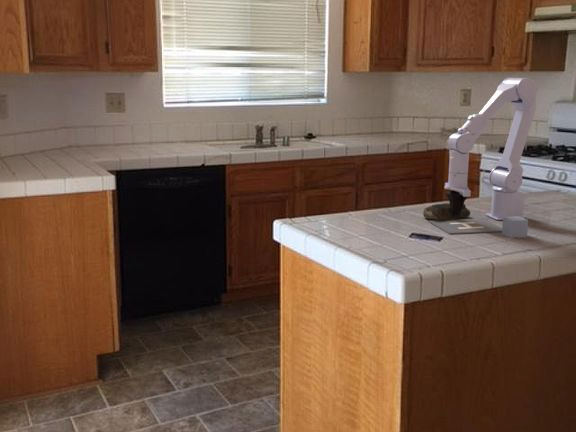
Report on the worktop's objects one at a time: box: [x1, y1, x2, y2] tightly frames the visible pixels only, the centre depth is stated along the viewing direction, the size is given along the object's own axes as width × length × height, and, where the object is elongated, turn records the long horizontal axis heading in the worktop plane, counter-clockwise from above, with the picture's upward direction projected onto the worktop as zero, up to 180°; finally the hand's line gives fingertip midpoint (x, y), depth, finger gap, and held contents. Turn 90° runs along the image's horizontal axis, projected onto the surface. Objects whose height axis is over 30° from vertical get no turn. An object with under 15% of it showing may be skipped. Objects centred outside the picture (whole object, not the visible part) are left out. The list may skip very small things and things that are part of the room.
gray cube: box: [501, 216, 529, 239], centre depth 183 cm, size 5×5×5 cm
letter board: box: [427, 218, 502, 235], centre depth 194 cm, size 18×16×1 cm
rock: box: [423, 202, 471, 221], centre depth 205 cm, size 8×16×4 cm, turn 123°
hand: (455, 215), depth 201 cm, fingers closed
